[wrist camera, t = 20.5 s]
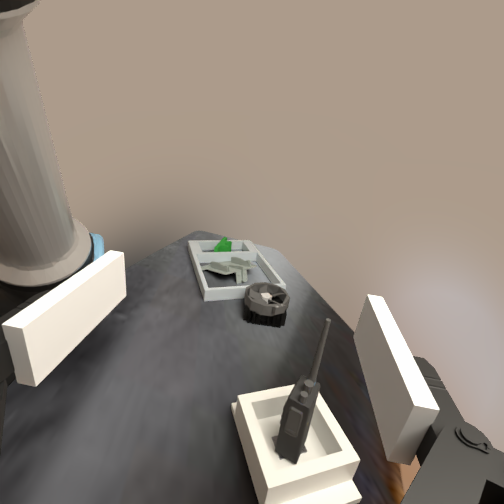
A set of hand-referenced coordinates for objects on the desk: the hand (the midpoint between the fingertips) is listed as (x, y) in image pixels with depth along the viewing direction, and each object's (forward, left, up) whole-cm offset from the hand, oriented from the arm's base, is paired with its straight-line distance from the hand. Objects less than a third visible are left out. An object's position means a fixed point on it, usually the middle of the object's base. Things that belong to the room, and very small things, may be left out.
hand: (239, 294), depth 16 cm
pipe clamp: (-71, +19, -32) cm, 80 cm away
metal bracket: (-60, +18, -33) cm, 70 cm away
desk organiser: (-61, +19, -32) cm, 71 cm away
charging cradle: (-9, +13, -32) cm, 36 cm away
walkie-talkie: (-9, +13, -31) cm, 35 cm away
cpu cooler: (-39, +21, -32) cm, 55 cm away
